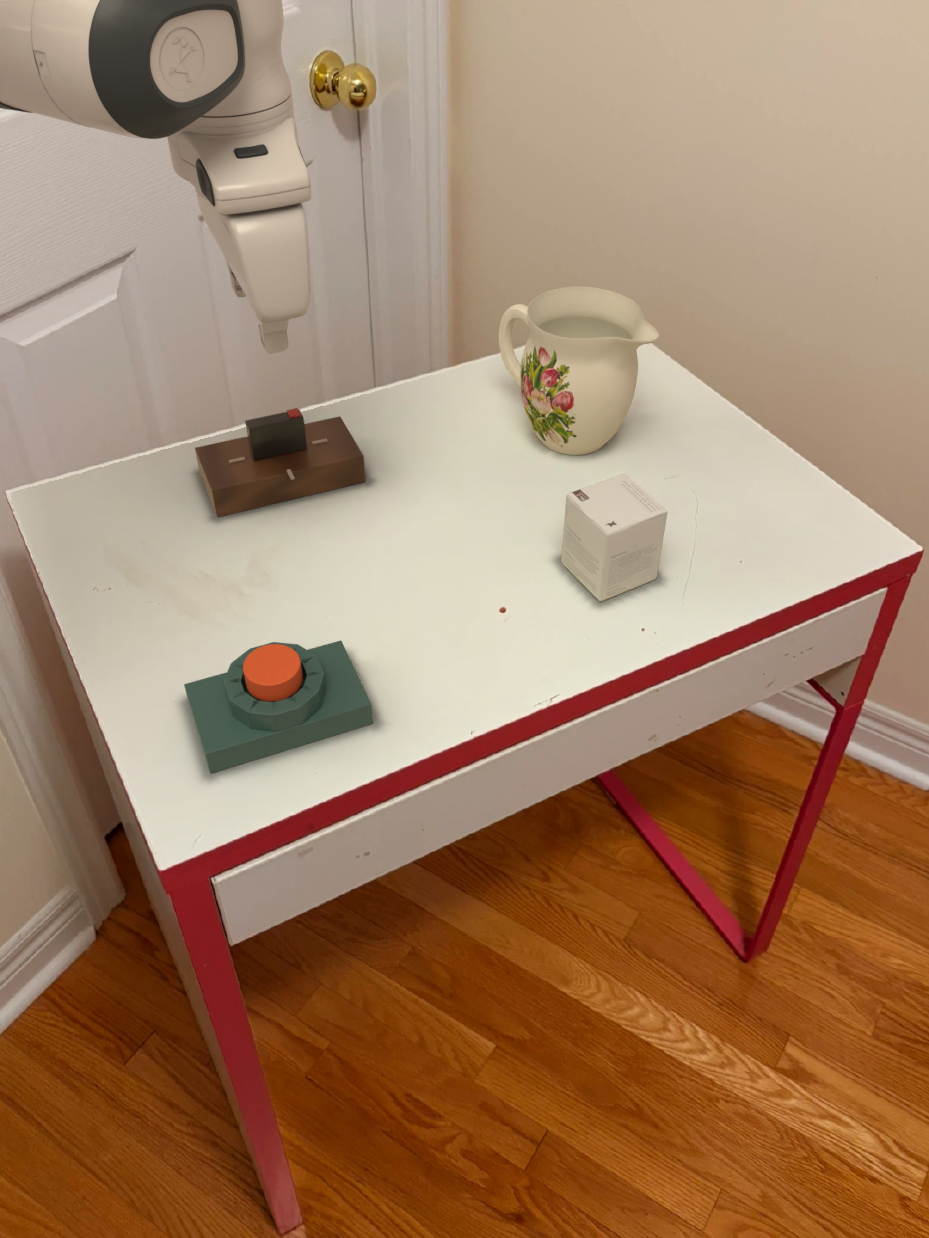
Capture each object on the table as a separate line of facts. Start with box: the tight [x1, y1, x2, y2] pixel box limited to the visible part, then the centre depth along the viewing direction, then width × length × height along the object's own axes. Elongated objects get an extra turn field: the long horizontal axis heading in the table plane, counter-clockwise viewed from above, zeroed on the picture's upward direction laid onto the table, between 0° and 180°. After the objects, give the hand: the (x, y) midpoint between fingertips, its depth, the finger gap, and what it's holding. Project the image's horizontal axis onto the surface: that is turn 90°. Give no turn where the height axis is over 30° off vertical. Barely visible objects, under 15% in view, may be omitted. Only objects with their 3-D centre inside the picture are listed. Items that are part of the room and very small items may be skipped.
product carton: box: [560, 473, 668, 602], centre depth 87 cm, size 6×6×7 cm
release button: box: [243, 644, 303, 702], centre depth 74 cm, size 4×4×2 cm
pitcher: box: [498, 285, 661, 456], centre depth 99 cm, size 11×18×14 cm, turn 45°
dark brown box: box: [244, 407, 307, 461], centre depth 95 cm, size 5×1×4 cm, turn 113°
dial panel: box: [194, 415, 366, 518], centre depth 97 cm, size 14×9×3 cm, turn 113°
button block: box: [183, 640, 374, 774], centre depth 76 cm, size 12×7×4 cm, turn 113°
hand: (259, 319), depth 83 cm, fingers open, 8 cm apart
